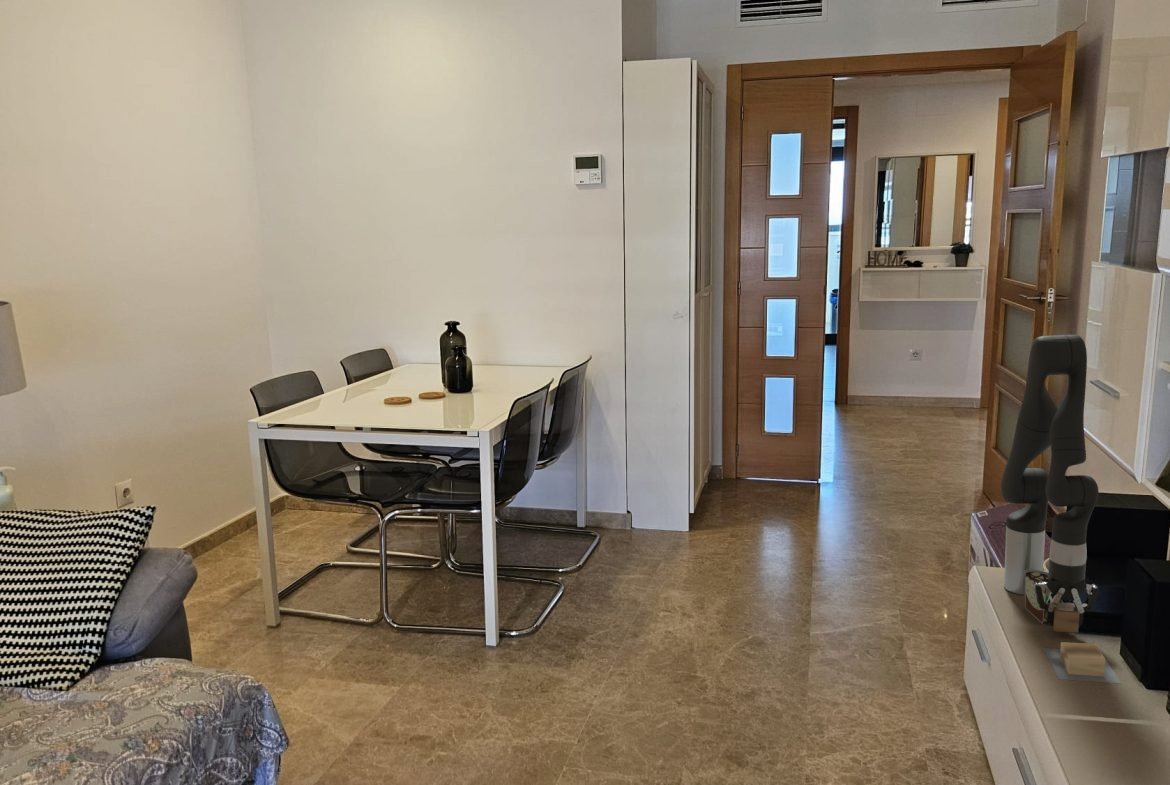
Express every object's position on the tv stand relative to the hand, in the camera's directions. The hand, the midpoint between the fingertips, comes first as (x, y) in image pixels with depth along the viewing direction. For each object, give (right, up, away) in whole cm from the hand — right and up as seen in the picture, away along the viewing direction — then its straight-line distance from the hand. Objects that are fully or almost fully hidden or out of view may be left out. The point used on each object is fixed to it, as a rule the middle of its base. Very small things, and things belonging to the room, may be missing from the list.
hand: (1063, 624), depth 211 cm
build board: (-3, -6, -13) cm, 15 cm away
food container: (+2, -1, +12) cm, 12 cm away
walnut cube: (0, -1, 0) cm, 0 cm away
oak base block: (-4, -6, -14) cm, 16 cm away
